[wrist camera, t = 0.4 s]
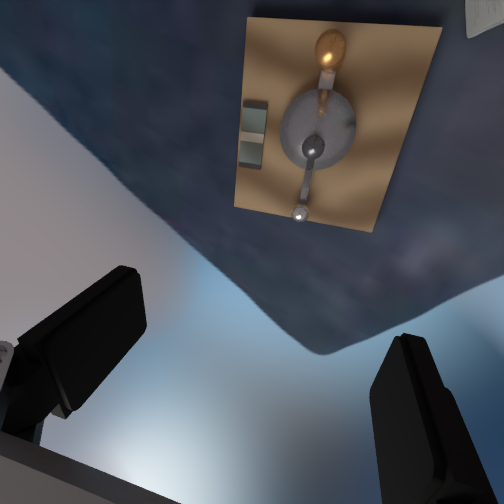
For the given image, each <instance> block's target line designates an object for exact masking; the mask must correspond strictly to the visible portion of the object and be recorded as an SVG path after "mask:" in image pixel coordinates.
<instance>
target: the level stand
mask: <svg viewBox="0 0 504 504" xmlns="http://www.w3.org/2000/svg"><path fill="white" fill-rule="evenodd" d="M442 28H443V27H425V26H406V25H388V24H369V23H350V22H331V21H313V20H294V19H275V18H256V17H247V29H246V43H245V58H244V72H243V87H242V101H241V116H240V130H239V145H238V159H237V174H236V188H235V203H234V207H240V208H245V209H250V210H256V211H261V212H266V213H271V214H277V215H282V216H287V217H292V215H291V211H292V208H293V207H294V206H295V205H297V204H299V201H300V196H301V190H302V185H303V180H304V175H305V169H303V168H300V167H298V166H297V165H295V164H294V163H292V162H291V161H290V160H289V159H288V157H287V156H286V154H285V153H284V151H283V149H282V146H281V142H280V124H281V120H282V117H283V115H284V113H285V111H286V109H287V108H288V106H289V105H290V104H291V103H292V102H293V101H294V100H295V99H296V98H297V97H298V96H300V95H301V94H303V93H305V92H307V91H310V90H314V89H318V86H319V80H320V75H321V69H320V67H319V65H318V62H317V59H316V56H315V45H316V42H317V40H318V38H319V36H320V35H321V34H322V33H323V32H325V31H326V30H329V29H338V30H340V31H341V32H342V33H343V34H344V36H345V39H346V50H345V56H344V61H343V64H342V66H341V68H340V69H339V70H338V71H337V72H336V74H335V79H334V84H333V88H332V90H333V91H335V92H337V93H339V94H341V95H342V96H343V97H344V98H345V99H346V100H347V101H348V102H349V103H350V105H351V107H352V109H353V111H354V114H355V118H356V134H355V138H354V141H353V144H352V146H351V148H350V149H349V151H348V153H347V154H346V155H345V156H344V157H343V158H342V159H341V160H340V161H339V162H338V163H336V164H335V165H333V166H331V167H329V168H326V169H322V170H313V171H312V176H311V181H310V186H309V191H308V196H307V201H306V206H307V207H308V208H309V211H310V214H309V217H308V218H307V219H306V220H308V221H314V222H319V223H324V224H330V225H335V226H340V227H345V228H351V229H356V230H361V231H367V232H372V230H373V228H374V225H375V222H376V219H377V216H378V213H379V210H380V207H381V204H382V202H383V199H384V196H385V193H386V190H387V187H388V184H389V181H390V178H391V176H392V173H393V170H394V167H395V164H396V161H397V158H398V155H399V152H400V150H401V147H402V144H403V141H404V138H405V135H406V132H407V129H408V126H409V124H410V121H411V118H412V115H413V112H414V109H415V106H416V103H417V100H418V98H419V95H420V92H421V89H422V86H423V83H424V80H425V77H426V74H427V72H428V69H429V66H430V63H431V60H432V57H433V54H434V51H435V48H436V46H437V43H438V40H439V37H440V34H441V31H442Z"/></svg>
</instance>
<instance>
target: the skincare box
mask: <svg viewBox="0 0 504 504" xmlns="http://www.w3.org/2000/svg"><path fill="white" fill-rule="evenodd" d="M465 8H466V10H465V13H466V31H467V37H468V38H472V37H474V36H476V35H479V34H480V33H482V32H484V31H486V30H489V29H491V28H493V27H495V26H498V25H500V24H502V23H504V0H465Z"/></svg>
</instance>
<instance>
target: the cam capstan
mask: <svg viewBox="0 0 504 504" xmlns="http://www.w3.org/2000/svg"><path fill="white" fill-rule="evenodd" d="M345 50H346V39H345V36H344V34H343V33H342V32H341V31H340V30H338V29H329V30H326V31H325V32H323V33H322V34H321V35H320V36H319V38H318V40H317V42H316V45H315V56H316V59H317V62H318V65H319V67H320V69H321V75H320V80H319V86H318V89H314V90H310V91H307V92H305V93H303V94H301V95H300V96H298V97H297V98H296V99H295V100H294V101H293V102H292V103H291V104H290V105H289V106H288V108H287V109H286V111H285V113H284V115H283V117H282V120H281V124H280V142H281V146H282V149H283V151H284V153H285V154H286V156H287V157H288V159H289V160H290V161H291V162H292V163H294V164H295V165H297V166H298V167H300V168H303V169H305V175H304V180H303V185H302V190H301V196H300V201H299V204H297V205H295V206H294V207H293V208H292V211H291V215H292V218H293V219H294V220H295V221H298V222H303V221H305V220H306V219H307V218H308V217H309V214H310V211H309V208H308V207H307V206H306V201H307V196H308V191H309V186H310V181H311V176H312V171H313V170H322V169H326V168H329V167H331V166H333V165H335V164H336V163H338V162H339V161H340V160H341V159H342V158H343V157H344V156H345V155H346V154H347V153H348V151H349V149H350V148H351V146H352V144H353V141H354V138H355V134H356V118H355V114H354V111H353V109H352V107H351V105H350V103H349V102H348V101H347V100H346V99H345V98H344V97H343V96H342V95H341V94H339V93H337V92H335V91H333V90H332V88H333V84H334V79H335V74H336V72H337V71H338V70H339V69H340V68H341V66H342V64H343V61H344V56H345Z"/></svg>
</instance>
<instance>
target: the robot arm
mask: <svg viewBox="0 0 504 504" xmlns="http://www.w3.org/2000/svg"><path fill="white" fill-rule="evenodd" d="M146 327H147V322H146V314H145V307H144V300H143V292H142V286H141V278H140V274H139V273H137V270H136V269H134V268H131V267H127V266H122V265H121V266H118V267H116V268H115V269H114V270H112V271H111V272H109V273H108V274H106V275H105V276H104V277H102V278H101V279H100V280H98V281H97V282H95V283H94V284H93V285H91V286H90V287H89V288H87V289H86V290H84V291H83V292H81V293H80V294H79V295H77V296H76V297H75V298H73V299H72V300H70V301H69V302H68V303H66V304H65V305H63V306H62V307H61V308H59V309H58V310H56V311H55V312H54V313H52V314H51V315H49V316H48V317H47V318H45V319H44V320H42V321H41V322H40V323H38V324H37V325H35V326H34V327H33V328H31V329H30V330H28V331H27V332H26V333H24V334H23V335H22V336H20V337H19V338H17V340H18V342H19V344H18V345H17V346H16V347H13V345H12V344H11V343H9V342H7V341H0V504H181V503H178V502H176V501H173V500H171V499H168V498H166V497H164V496H161V495H159V494H156V493H154V492H151V491H149V490H146V489H144V488H142V487H139V486H137V485H134V484H132V483H129V482H127V481H124V480H122V479H120V478H117V477H115V476H112V475H110V474H107V473H105V472H103V471H100V470H98V469H95V468H93V467H90V466H88V465H85V464H83V463H80V462H78V461H75V460H73V459H70V458H68V457H65V456H63V455H60V454H58V453H55V452H53V451H51V450H48V449H46V448H43V447H41V446H40V441H41V435H42V429H43V424H44V419H45V418H46V417H47V416H48V414H49V413H50V412H51V413H52V414H53V415H56V416H58V417H61V418H63V419H67V417H68V416H69V415H70V414H71V413H72V412H73V411H76V410H77V409H79V408H80V407H81V406H82V405H83V404H84V403H85V401H86V400H87V399H88V398H89V397H90V396H91V394H92V393H93V392H94V391H95V390H96V389H97V387H98V386H99V385H100V384H101V383H102V381H103V380H104V379H105V378H106V377H107V376H108V374H109V373H110V372H111V371H112V370H113V369H114V368H115V366H116V365H117V364H118V363H119V362H120V361H121V359H122V358H123V357H124V356H125V355H126V354H127V352H128V351H129V350H130V349H131V348H132V347H133V345H134V344H135V343H136V342H137V341H138V340H139V338H140V337H141V336H142V335H143V334H144V332H145V330H146ZM369 398H370V407H371V415H372V423H373V431H374V439H375V447H376V456H377V463H378V472H379V480H380V489H381V497H382V504H498V502H497V499H496V497H495V495H494V492H493V490H492V487H491V485H490V483H489V480H488V478H487V476H486V473H485V471H484V469H483V466H482V464H481V461H480V459H479V456H478V454H477V452H476V449H475V447H474V444H473V442H472V440H471V437H470V435H469V432H468V430H467V428H466V425H465V423H464V421H463V418H462V416H461V413H460V411H459V409H458V406H457V404H456V401H455V399H454V397H453V395H452V393H451V391H450V390H449V389H447V388H445V387H444V385H443V382H442V380H441V377H440V375H439V372H438V370H437V367H436V365H435V362H434V360H433V357H432V355H431V352H430V349H429V347H428V344H427V342H426V340H425V339H424V338H423V337H419V336H415V335H411V334H406V333H403V334H402V335H401V336H395V338H394V339H393V341H392V344H391V346H390V348H389V350H388V352H387V354H386V356H385V358H384V361H383V363H382V365H381V367H380V369H379V371H378V373H377V375H376V377H375V380H374V382H373V384H372V386H371V389H370V396H369Z"/></svg>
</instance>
